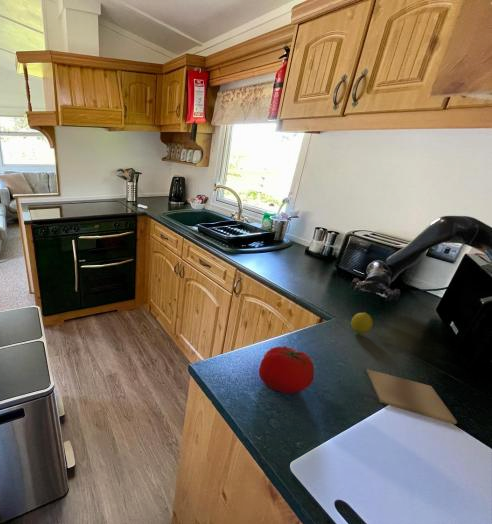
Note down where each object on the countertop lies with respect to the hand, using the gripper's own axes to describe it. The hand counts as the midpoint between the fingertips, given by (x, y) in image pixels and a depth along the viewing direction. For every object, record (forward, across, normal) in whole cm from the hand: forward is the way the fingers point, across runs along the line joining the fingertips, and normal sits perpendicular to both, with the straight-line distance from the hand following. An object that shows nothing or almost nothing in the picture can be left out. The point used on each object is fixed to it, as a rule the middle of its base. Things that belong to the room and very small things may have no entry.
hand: (372, 294), depth 102 cm
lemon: (+11, 0, +11) cm, 16 cm away
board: (+36, +14, +11) cm, 40 cm away
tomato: (+56, -10, +11) cm, 58 cm away
